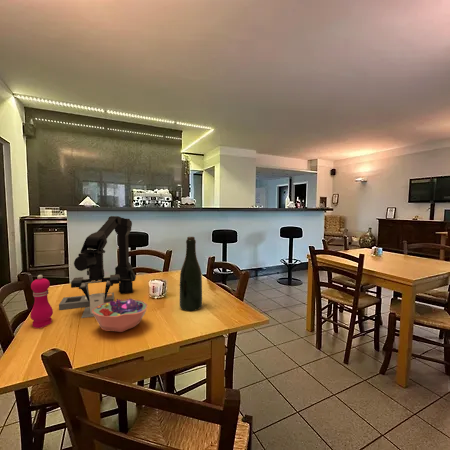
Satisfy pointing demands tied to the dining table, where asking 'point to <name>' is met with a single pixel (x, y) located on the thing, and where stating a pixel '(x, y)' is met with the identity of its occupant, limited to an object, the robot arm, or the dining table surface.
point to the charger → (96, 300)
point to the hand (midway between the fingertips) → (97, 299)
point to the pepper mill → (41, 303)
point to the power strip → (80, 301)
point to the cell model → (120, 314)
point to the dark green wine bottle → (190, 279)
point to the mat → (87, 313)
